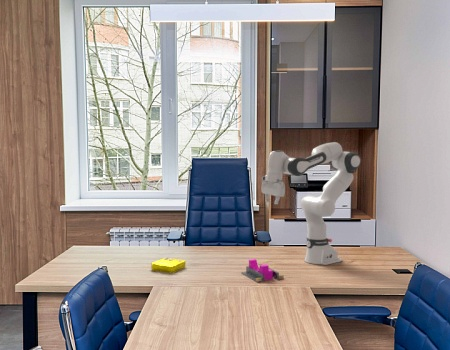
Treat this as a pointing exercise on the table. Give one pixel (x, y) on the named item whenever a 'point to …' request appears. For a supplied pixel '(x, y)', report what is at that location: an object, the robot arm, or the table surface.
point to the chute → (259, 274)
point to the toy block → (261, 269)
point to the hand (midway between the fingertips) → (271, 203)
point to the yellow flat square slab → (168, 265)
